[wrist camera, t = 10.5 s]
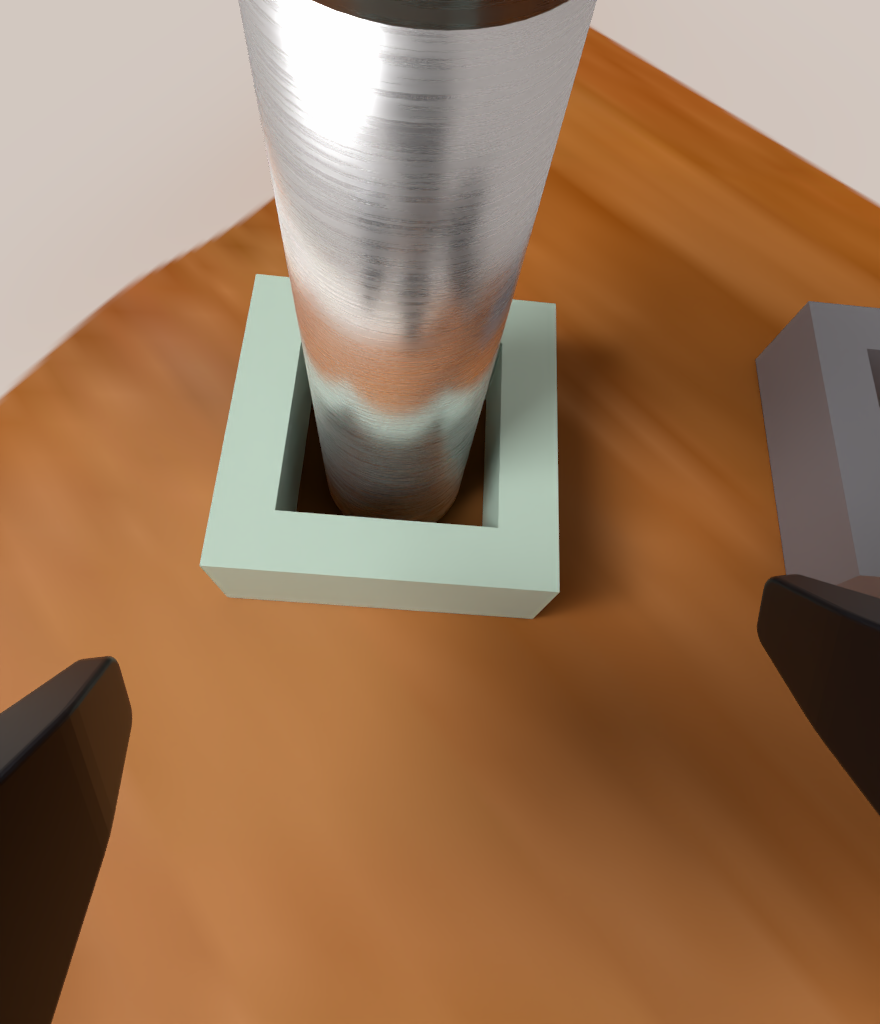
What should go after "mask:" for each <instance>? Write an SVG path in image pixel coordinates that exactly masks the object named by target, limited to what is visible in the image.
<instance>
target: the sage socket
mask: <svg viewBox="0 0 880 1024" xmlns="http://www.w3.org/2000/svg"><path fill="white" fill-rule="evenodd" d="M484 400H486V425H485V456H484V488H483V519H482V527H481V526H468V525H455V524H443V523H430V522H417V521H405V520H392V519H379V518H367V517H354V516H341V515H329V514H316V513H303V512H296V509H297V502H298V495H299V488H300V481H301V475H302V468H303V461H304V454H305V447H306V440H307V433H308V426H309V419H310V412H311V405H312V396H311V391H310V385H309V380H308V375H307V369H306V364H305V358H304V353H303V347H302V342H301V337H300V331H299V326H298V320H297V315H296V310H295V304H294V299H293V293H292V288H291V282H290V277H280V276H270V275H260V274H256V278H255V283H254V288H253V293H252V298H251V303H250V309H249V314H248V319H247V324H246V329H245V334H244V339H243V345H242V350H241V355H240V360H239V365H238V370H237V375H236V381H235V386H234V391H233V396H232V401H231V406H230V411H229V417H228V422H227V427H226V432H225V437H224V442H223V447H222V453H221V458H220V463H219V468H218V473H217V478H216V483H215V489H214V494H213V499H212V504H211V509H210V514H209V519H208V525H207V530H206V535H205V540H204V545H203V550H202V555H201V561H200V567H201V568H202V569H203V570H204V571H205V572H206V573H207V575H208V576H209V577H210V578H211V579H212V580H213V581H214V582H215V584H216V585H217V586H218V587H219V588H220V589H221V590H222V591H223V592H224V594H225V595H226V596H227V597H232V598H246V599H260V600H274V601H288V602H302V603H316V604H330V605H344V606H358V607H372V608H386V609H400V610H414V611H428V612H443V613H457V614H471V615H485V616H499V617H513V618H527V619H533V618H534V617H535V616H536V615H537V614H538V613H539V612H540V611H541V610H542V609H543V608H544V607H545V606H546V605H547V604H548V603H549V602H550V601H551V600H552V599H553V598H554V597H555V596H556V595H557V594H558V593H559V592H560V583H559V508H558V433H557V358H556V304H553V303H543V302H533V301H523V300H513V299H512V303H511V306H510V310H509V313H508V317H507V321H506V324H505V328H504V331H503V335H502V338H501V342H500V345H499V349H498V353H497V356H496V360H495V363H494V367H493V370H492V374H491V377H490V381H489V385H488V388H487V392H486V395H485V399H484Z"/></svg>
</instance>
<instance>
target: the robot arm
mask: <svg viewBox="0 0 880 1024" xmlns="http://www.w3.org/2000/svg"><path fill="white" fill-rule="evenodd" d="M757 632H758V637H759V639H760V642H761V644H762V646H763V647H764V649H765V650H766V652H767V654H768V655H769V657H770V659H771V660H772V662H773V663H774V665H775V667H776V668H777V670H778V672H779V673H780V675H781V676H782V678H783V680H784V681H785V683H786V685H787V686H788V688H789V689H790V691H791V693H792V694H793V696H794V698H795V699H796V701H797V702H798V704H799V706H800V707H801V709H802V711H803V712H804V714H805V715H806V717H807V718H808V720H809V722H810V723H811V725H812V726H813V728H814V729H815V731H816V732H817V733H818V735H819V736H820V738H821V739H822V740H823V742H824V743H825V744H826V746H827V747H828V748H829V750H830V751H831V752H832V754H833V755H834V756H835V758H836V759H837V760H838V762H839V763H840V764H841V766H842V767H843V768H844V770H845V771H846V772H847V774H848V775H849V776H850V777H851V779H852V780H853V781H854V783H855V784H856V785H857V787H858V788H859V789H860V791H861V792H862V793H863V795H864V796H865V797H866V799H867V800H868V801H869V803H870V804H871V805H872V806H873V808H874V809H875V810H876V812H877V813H878V814H879V816H880V598H877V597H874V596H871V595H867V594H864V593H860V592H857V591H854V590H850V589H847V588H844V587H840V586H837V585H834V584H830V583H827V582H823V581H820V580H817V579H813V578H810V577H807V576H803V575H799V574H790V575H782V576H774V577H771V578H770V579H768V580H767V582H766V583H765V586H764V590H763V595H762V601H761V606H760V612H759V617H758V623H757ZM131 726H132V710H131V705H130V701H129V698H128V694H127V691H126V687H125V684H124V680H123V677H122V673H121V670H120V667H119V664H118V662H117V661H116V659H114V658H113V657H111V656H105V657H96V658H88V659H81V660H78V661H77V662H75V663H74V664H72V665H71V666H69V667H68V668H66V669H65V670H63V671H62V672H60V673H59V674H58V675H56V676H55V677H53V678H52V679H50V680H49V681H47V682H46V683H44V684H43V685H41V686H40V687H38V688H37V689H36V690H34V691H33V692H31V693H30V694H28V695H27V696H25V697H24V698H22V699H21V700H19V701H18V702H17V703H15V704H14V705H12V706H11V707H9V708H8V709H6V710H5V711H3V712H2V713H0V1024H51V1022H52V1019H53V1016H54V1013H55V1010H56V1007H57V1003H58V1000H59V997H60V994H61V991H62V988H63V985H64V981H65V978H66V975H67V972H68V969H69V966H70V962H71V959H72V956H73V953H74V950H75V947H76V943H77V940H78V937H79V934H80V931H81V928H82V924H83V921H84V918H85V915H86V912H87V909H88V905H89V902H90V899H91V896H92V893H93V890H94V886H95V883H96V880H97V877H98V874H99V871H100V868H101V864H102V861H103V858H104V855H105V851H106V848H107V844H108V841H109V837H110V833H111V829H112V824H113V820H114V815H115V810H116V804H117V799H118V794H119V789H120V784H121V778H122V773H123V768H124V763H125V758H126V752H127V747H128V742H129V737H130V732H131Z"/></svg>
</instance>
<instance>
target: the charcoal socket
mask: <svg viewBox="0 0 880 1024" xmlns="http://www.w3.org/2000/svg"><path fill="white" fill-rule="evenodd" d="M756 367H757V374H758V381H759V388H760V395H761V402H762V409H763V416H764V423H765V430H766V437H767V444H768V451H769V457H770V464H771V471H772V478H773V485H774V492H775V499H776V506H777V513H778V520H779V527H780V534H781V541H782V548H783V555H784V562H785V569H786V575H790V574H799V575H803V576H807V577H810V578H813V579H817V580H820V581H823V582H827V583H830V584H834V585H837V586H840V587H844V588H847V589H850V590H854V591H857V592H860V593H864V594H867V595H871V596H874V597H877V598H880V308H870V307H860V306H850V305H841V304H831V303H821V302H811V301H809V302H808V303H807V304H806V305H805V306H804V307H803V308H802V309H801V310H800V311H799V313H798V314H797V315H796V316H795V317H794V318H793V319H792V320H791V321H790V322H789V323H788V325H787V326H786V327H785V328H784V329H783V330H782V331H781V332H780V333H779V334H778V336H777V337H776V338H775V339H774V340H773V341H772V342H771V343H770V344H769V345H768V346H767V348H766V349H765V350H764V351H763V352H762V353H761V354H760V355H759V356H758V357H757V359H756Z"/></svg>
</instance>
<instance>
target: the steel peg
mask: <svg viewBox="0 0 880 1024" xmlns="http://www.w3.org/2000/svg"><path fill="white" fill-rule="evenodd" d="M596 1H597V0H239V6H240V11H241V17H242V22H243V27H244V33H245V38H246V44H247V49H248V55H249V60H250V65H251V71H252V76H253V82H254V87H255V93H256V98H257V103H258V109H259V114H260V119H261V125H262V131H263V136H264V141H265V147H266V152H267V158H268V163H269V168H270V173H271V179H272V184H273V190H274V196H275V201H276V206H277V212H278V217H279V223H280V228H281V234H282V239H283V244H284V250H285V255H286V261H287V266H288V272H289V277H290V282H291V288H292V293H293V299H294V304H295V310H296V315H297V320H298V326H299V331H300V337H301V342H302V347H303V353H304V358H305V364H306V369H307V375H308V380H309V385H310V391H311V396H312V402H313V407H314V413H315V418H316V423H317V429H318V434H319V440H320V445H321V451H322V456H323V461H324V467H325V472H326V478H327V483H328V487H329V491H330V494H331V496H332V498H333V500H334V502H335V504H336V505H337V507H338V508H339V509H340V510H341V512H342V513H343V514H344V515H345V516H354V517H367V518H379V519H392V520H405V521H417V522H430V523H435V522H437V521H438V520H439V519H440V518H442V517H443V516H444V515H445V514H446V512H447V511H448V510H449V509H450V507H451V506H452V504H453V503H454V501H455V499H456V497H457V494H458V491H459V488H460V484H461V481H462V477H463V473H464V470H465V466H466V463H467V459H468V456H469V452H470V449H471V445H472V441H473V438H474V434H475V431H476V427H477V424H478V420H479V417H480V413H481V409H482V406H483V402H484V399H485V395H486V392H487V388H488V385H489V381H490V377H491V374H492V370H493V367H494V363H495V360H496V356H497V353H498V349H499V345H500V342H501V338H502V335H503V331H504V328H505V324H506V321H507V317H508V313H509V310H510V306H511V303H512V299H513V296H514V292H515V289H516V285H517V281H518V278H519V274H520V271H521V267H522V264H523V260H524V257H525V253H526V249H527V246H528V242H529V239H530V235H531V232H532V228H533V225H534V221H535V217H536V214H537V210H538V207H539V203H540V200H541V196H542V193H543V189H544V185H545V182H546V178H547V175H548V171H549V168H550V164H551V161H552V157H553V153H554V150H555V146H556V143H557V139H558V136H559V132H560V129H561V125H562V121H563V118H564V114H565V111H566V107H567V104H568V100H569V97H570V93H571V89H572V86H573V82H574V79H575V75H576V72H577V68H578V65H579V61H580V57H581V54H582V50H583V47H584V43H585V40H586V36H587V33H588V29H589V25H590V22H591V18H592V15H593V11H594V7H595V3H596Z"/></svg>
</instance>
